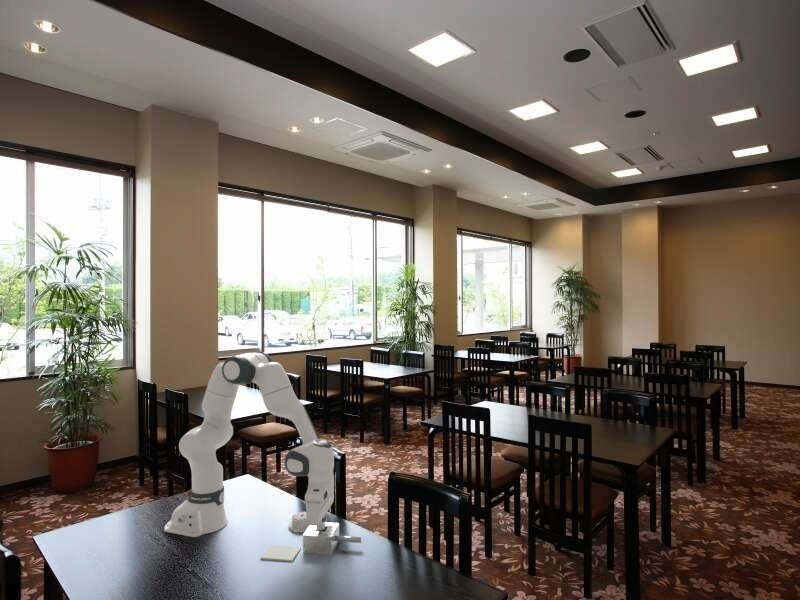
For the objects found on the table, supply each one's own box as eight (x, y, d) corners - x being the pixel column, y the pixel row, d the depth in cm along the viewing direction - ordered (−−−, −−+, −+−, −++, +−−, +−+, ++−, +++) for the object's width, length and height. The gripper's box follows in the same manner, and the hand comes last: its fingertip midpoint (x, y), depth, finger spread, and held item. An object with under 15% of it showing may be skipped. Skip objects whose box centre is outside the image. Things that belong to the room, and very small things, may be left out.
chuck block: (303, 552, 161) (303, 534, 161) (312, 537, 170) (312, 521, 170) (357, 556, 158) (357, 538, 158) (363, 541, 168) (363, 524, 168)
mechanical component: (311, 533, 174) (318, 521, 184) (311, 521, 174) (318, 510, 184) (285, 532, 175) (293, 520, 185) (285, 520, 175) (293, 509, 185)
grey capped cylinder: (315, 543, 163) (315, 517, 164) (318, 538, 167) (318, 513, 167) (324, 543, 163) (324, 517, 163) (327, 539, 166) (327, 513, 166)
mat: (260, 559, 156) (260, 557, 156) (270, 547, 164) (270, 545, 164) (292, 561, 155) (292, 560, 155) (300, 549, 163) (300, 547, 163)
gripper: (321, 475, 176) (321, 512, 176) (302, 498, 155) (302, 540, 155) (338, 476, 175) (338, 513, 175) (321, 499, 155) (321, 541, 154)
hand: (321, 526), depth 165 cm, fingers closed on grey capped cylinder, 2 cm apart
